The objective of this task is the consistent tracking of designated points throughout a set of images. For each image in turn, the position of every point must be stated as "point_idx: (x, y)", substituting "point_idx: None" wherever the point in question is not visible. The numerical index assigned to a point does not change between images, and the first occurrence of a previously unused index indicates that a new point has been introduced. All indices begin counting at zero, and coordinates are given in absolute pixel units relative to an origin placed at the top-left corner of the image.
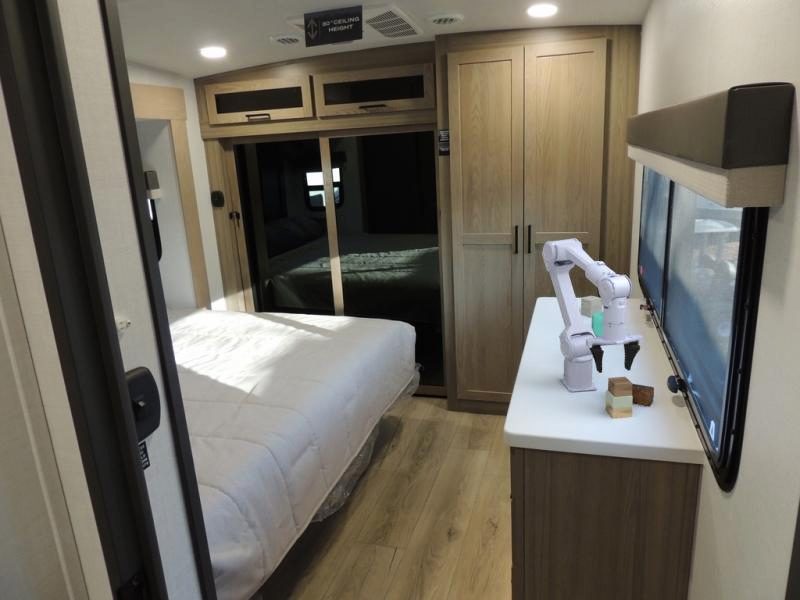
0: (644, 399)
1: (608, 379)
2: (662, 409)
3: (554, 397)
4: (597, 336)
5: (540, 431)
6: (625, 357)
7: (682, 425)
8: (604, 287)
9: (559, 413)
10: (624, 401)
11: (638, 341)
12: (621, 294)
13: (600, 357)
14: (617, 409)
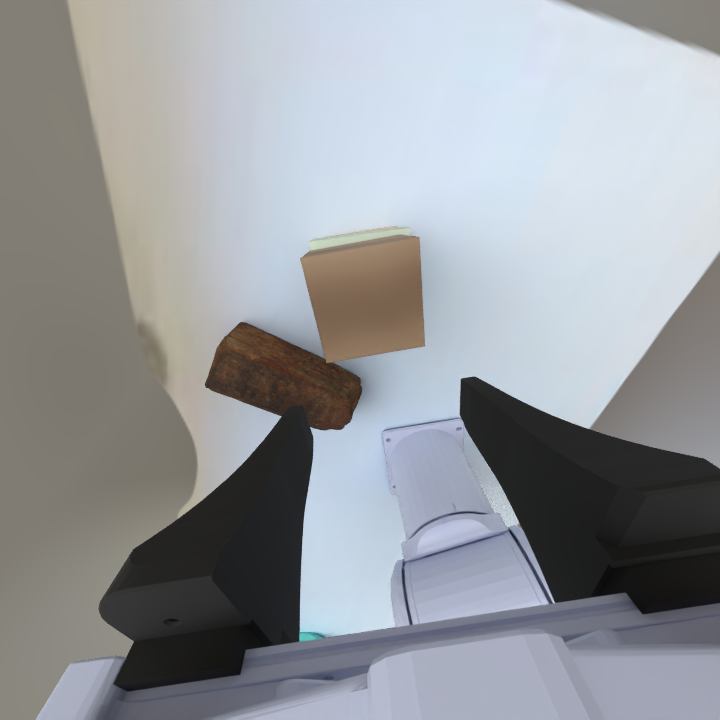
0: (253, 337)
1: (422, 339)
2: (200, 301)
3: (517, 388)
4: (317, 638)
5: (711, 102)
6: (302, 496)
7: (122, 144)
8: None
9: (556, 275)
10: (349, 235)
11: (100, 704)
12: None
13: (566, 436)
14: (378, 229)
